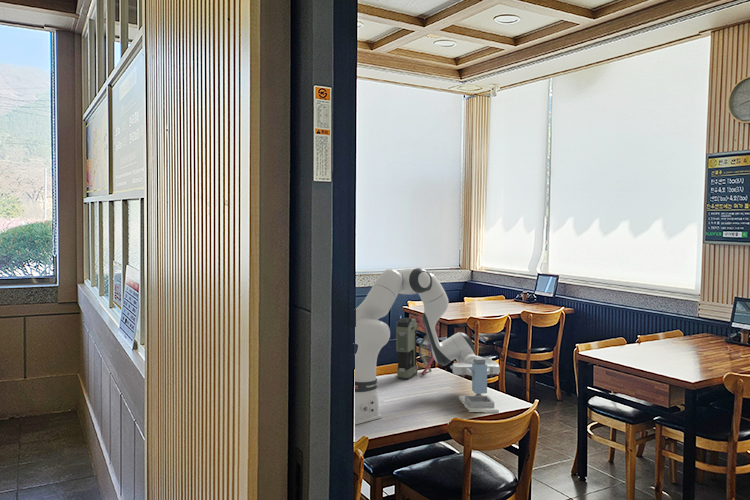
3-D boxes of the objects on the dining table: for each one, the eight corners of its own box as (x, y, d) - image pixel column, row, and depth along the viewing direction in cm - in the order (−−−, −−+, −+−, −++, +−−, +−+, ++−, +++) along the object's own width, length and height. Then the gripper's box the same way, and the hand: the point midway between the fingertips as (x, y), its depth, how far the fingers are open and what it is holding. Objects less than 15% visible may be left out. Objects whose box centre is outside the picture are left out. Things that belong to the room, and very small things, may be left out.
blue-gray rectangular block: (486, 393, 238) (487, 360, 237) (475, 393, 238) (475, 360, 237) (483, 389, 243) (483, 357, 242) (472, 390, 243) (472, 357, 242)
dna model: (414, 373, 295) (415, 316, 294) (423, 370, 302) (423, 313, 301) (430, 376, 290) (430, 317, 289) (438, 372, 297) (438, 315, 296)
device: (408, 380, 282) (408, 320, 281) (394, 378, 285) (394, 319, 284) (418, 373, 295) (418, 316, 294) (404, 372, 298) (404, 315, 297)
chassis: (498, 412, 233) (498, 404, 233) (469, 413, 232) (469, 405, 232) (485, 398, 253) (485, 390, 253) (458, 398, 252) (458, 391, 252)
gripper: (448, 358, 252) (455, 366, 238) (494, 357, 253) (503, 365, 240) (448, 372, 252) (455, 381, 238) (494, 371, 254) (503, 380, 240)
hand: (480, 373), depth 239 cm, fingers closed on blue-gray rectangular block, 5 cm apart
